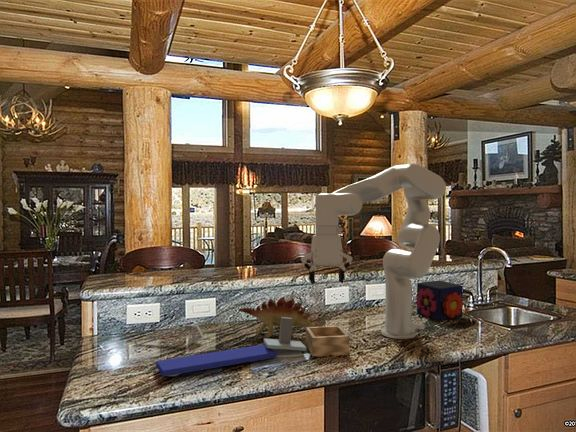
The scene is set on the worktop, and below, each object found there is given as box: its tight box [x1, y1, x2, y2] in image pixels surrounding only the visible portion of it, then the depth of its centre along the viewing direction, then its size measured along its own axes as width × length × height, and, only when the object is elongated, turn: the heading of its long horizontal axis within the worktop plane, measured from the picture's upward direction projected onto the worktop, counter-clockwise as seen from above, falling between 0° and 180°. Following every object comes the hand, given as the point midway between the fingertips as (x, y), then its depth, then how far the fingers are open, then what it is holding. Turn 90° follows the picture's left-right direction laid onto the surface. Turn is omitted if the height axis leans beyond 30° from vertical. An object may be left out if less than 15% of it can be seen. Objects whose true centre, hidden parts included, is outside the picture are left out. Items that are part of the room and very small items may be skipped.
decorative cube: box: [415, 280, 464, 321], centre depth 189 cm, size 16×16×14 cm
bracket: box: [133, 323, 204, 346], centre depth 152 cm, size 3×21×10 cm, turn 94°
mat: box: [270, 348, 304, 358], centre depth 144 cm, size 10×10×1 cm
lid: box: [263, 317, 308, 351], centre depth 144 cm, size 12×12×9 cm
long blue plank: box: [155, 344, 278, 377], centre depth 133 cm, size 34×3×10 cm
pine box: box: [305, 325, 350, 358], centre depth 146 cm, size 12×12×6 cm
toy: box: [239, 297, 327, 339], centre depth 162 cm, size 9×32×15 cm, turn 79°
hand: (326, 282), depth 145 cm, fingers open, 9 cm apart
